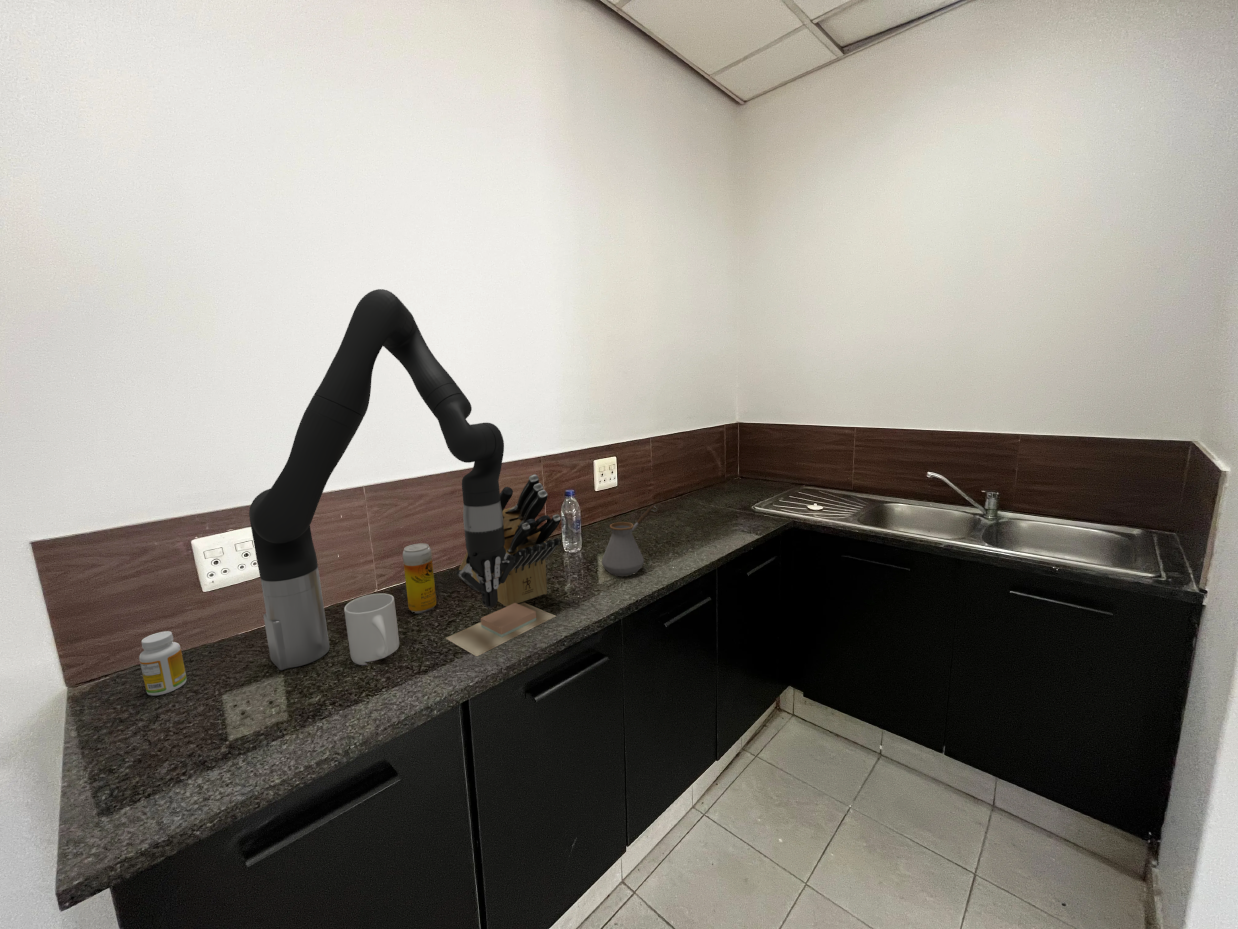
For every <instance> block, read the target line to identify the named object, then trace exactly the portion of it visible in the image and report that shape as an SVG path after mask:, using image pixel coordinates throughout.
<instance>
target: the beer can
mask: <svg viewBox="0 0 1238 929" xmlns="http://www.w3.org/2000/svg"><path fill="white" fill-rule="evenodd" d="M432 556H433V554H432V549H431V547H430V546H429V544H428V543H414V544H410V545H407V546H405V547H404V548H403V551H402V560H403V571H404V579H405V589H406V596H407V606H408V610H409V611H411V613H413V612H415V613H414V614H423V613H426V612H429V611H430V610H433V609H434V608H435V606H436V605H437V595H436V585H435V584H436V583H435V576H434V574H435V573H434V566H433V557H432Z"/></svg>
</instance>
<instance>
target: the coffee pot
mask: <svg viewBox="0 0 1238 929" xmlns="http://www.w3.org/2000/svg"><path fill="white" fill-rule="evenodd" d="M654 508H655V509H656V510H653V509H654ZM657 511H658V508H657V507H656V506H655V505H653V504H652V505H651V506H650V507H649V508H647V510H646V511H645V512H644V513H642V515H641V516H640V517H639V518H638V519H637V521H636V523H635V524H633V523H632V522H628V521H617V522H614V523H613V522H612V523H610V525H609V529H611V532H612V533H611V535H610V538H609V541H608V544H607V546H606V548H605V552H604V554H603V556H602V559H601V564H602V566H603V569H605V570H606V571H607V572H609V574H610V575H611V576H616V577H628V576H627V575H630V576H632V575H631V574H633V573H635V574H636V573H637V572H638V571H640V569H642V567H643V565H644V563H645V559H644V556H643V554H642V552H641V550H640V547H639V546H638V544H637V541H636V539H635V538H634V535H633V531H634V530H635V529H636V528H637V526H639V525H640V524H641V523H642V522H643V521H644V520H645V519H646V518H647V516H648V515H649V513H651V512H657ZM633 575H634V574H633Z"/></svg>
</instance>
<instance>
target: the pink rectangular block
mask: <svg viewBox="0 0 1238 929" xmlns="http://www.w3.org/2000/svg"><path fill="white" fill-rule="evenodd" d="M534 621H536V611H534V610H531V609H529V608H526V607H524V606H522V605H520V603H518V604H517V603H514V604H511V605H509V606H507V607H506V606H505V607H503V608H502V607H501V608H500V609H498V610H496V611H494V612H491V613H489V614H487V615H485V616H482V617H480V622H481V627H482V628H484V629H486V630H488V631H490V632H492V633H494V634H496V635H498V636H500V637H504V636H506V635H508V634H510V633H512V632H514V631H516V630H518V629H520V628H522V627H524V626H526V625H528V624H530V623H532V622H534Z"/></svg>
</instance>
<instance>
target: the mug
mask: <svg viewBox="0 0 1238 929" xmlns="http://www.w3.org/2000/svg"><path fill="white" fill-rule="evenodd" d="M343 610H344V618H345V625H346V632H347V640H348V645H349V646H348V647H349V653H350V658H351V660H352V661H353V663H354V664H356V665H360V666H369V664H368V663H367V662H374V661H378V660H381V659H384V658H387V657H388V656H390V655H392V654H393V653H395V652H396V651H397V650H398V649H399V647H400V638H399V629H398V619H397V613H396V612H397V611H396V603H395V597H394V596H393V595H392V594H389V593H384V592H383V593H382V592H381V593H372V594H366V595H363V596H360V597H356V598H355V599H353V600H351V601H349V602H348V603H346V605H345V606H344V608H343Z"/></svg>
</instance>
